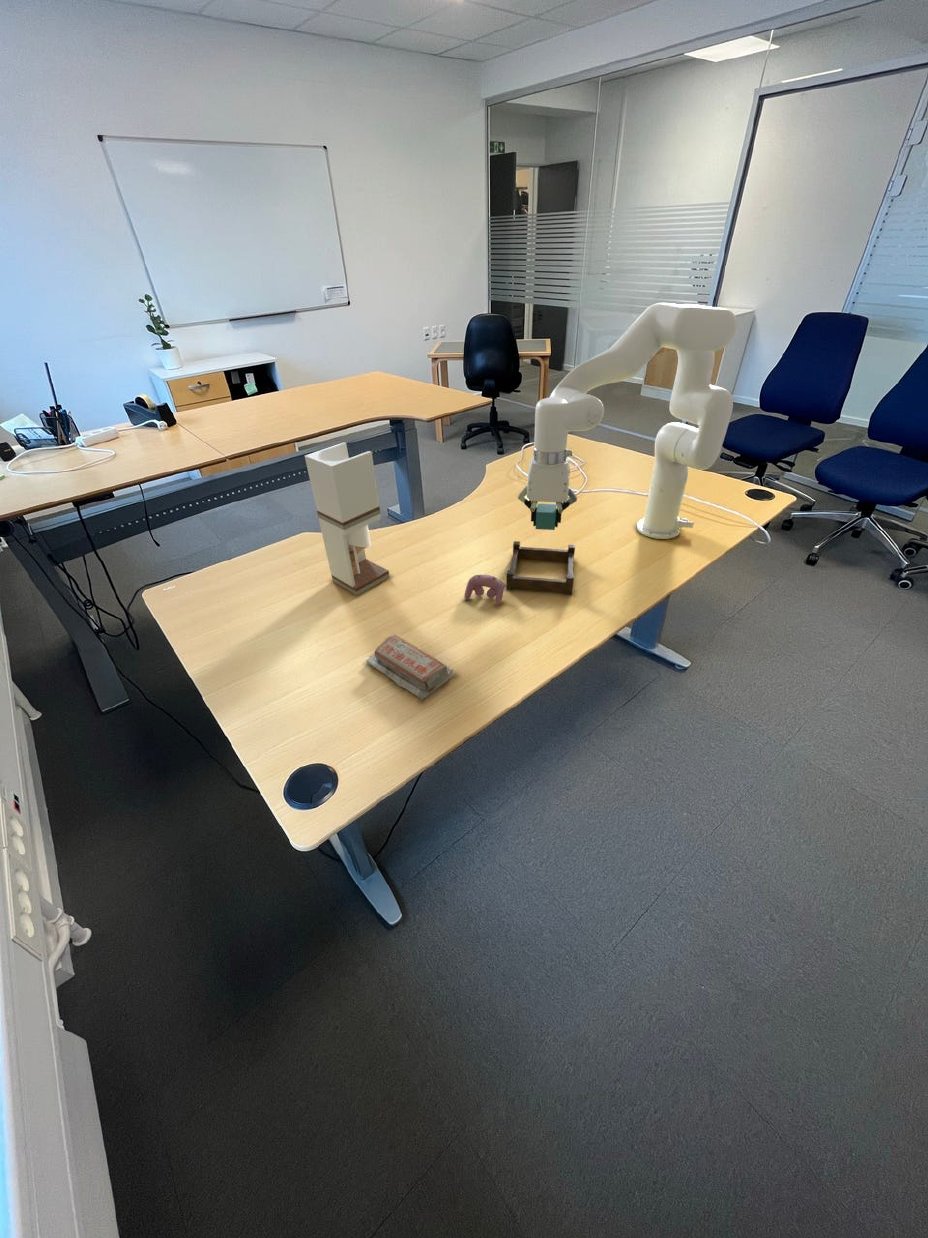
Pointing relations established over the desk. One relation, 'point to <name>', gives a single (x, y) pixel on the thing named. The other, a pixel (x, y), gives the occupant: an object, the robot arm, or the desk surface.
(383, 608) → the desk surface
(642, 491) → the desk surface
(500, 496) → the desk surface
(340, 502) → the tall open-top tower
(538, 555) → the wooden frame
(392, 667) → the packaged product
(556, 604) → the desk surface
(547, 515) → the teal block
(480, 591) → the video game controller
